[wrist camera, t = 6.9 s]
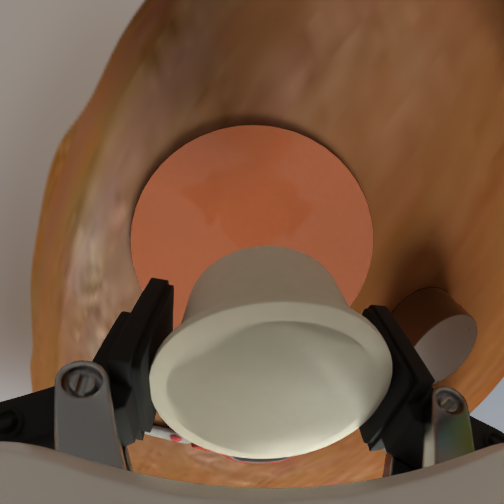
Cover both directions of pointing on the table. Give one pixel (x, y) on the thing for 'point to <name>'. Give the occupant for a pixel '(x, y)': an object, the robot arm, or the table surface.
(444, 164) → the table surface
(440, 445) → the robot arm
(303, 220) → the plate
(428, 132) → the table surface
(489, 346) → the table surface
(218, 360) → the cylinder
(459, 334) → the cylinder
